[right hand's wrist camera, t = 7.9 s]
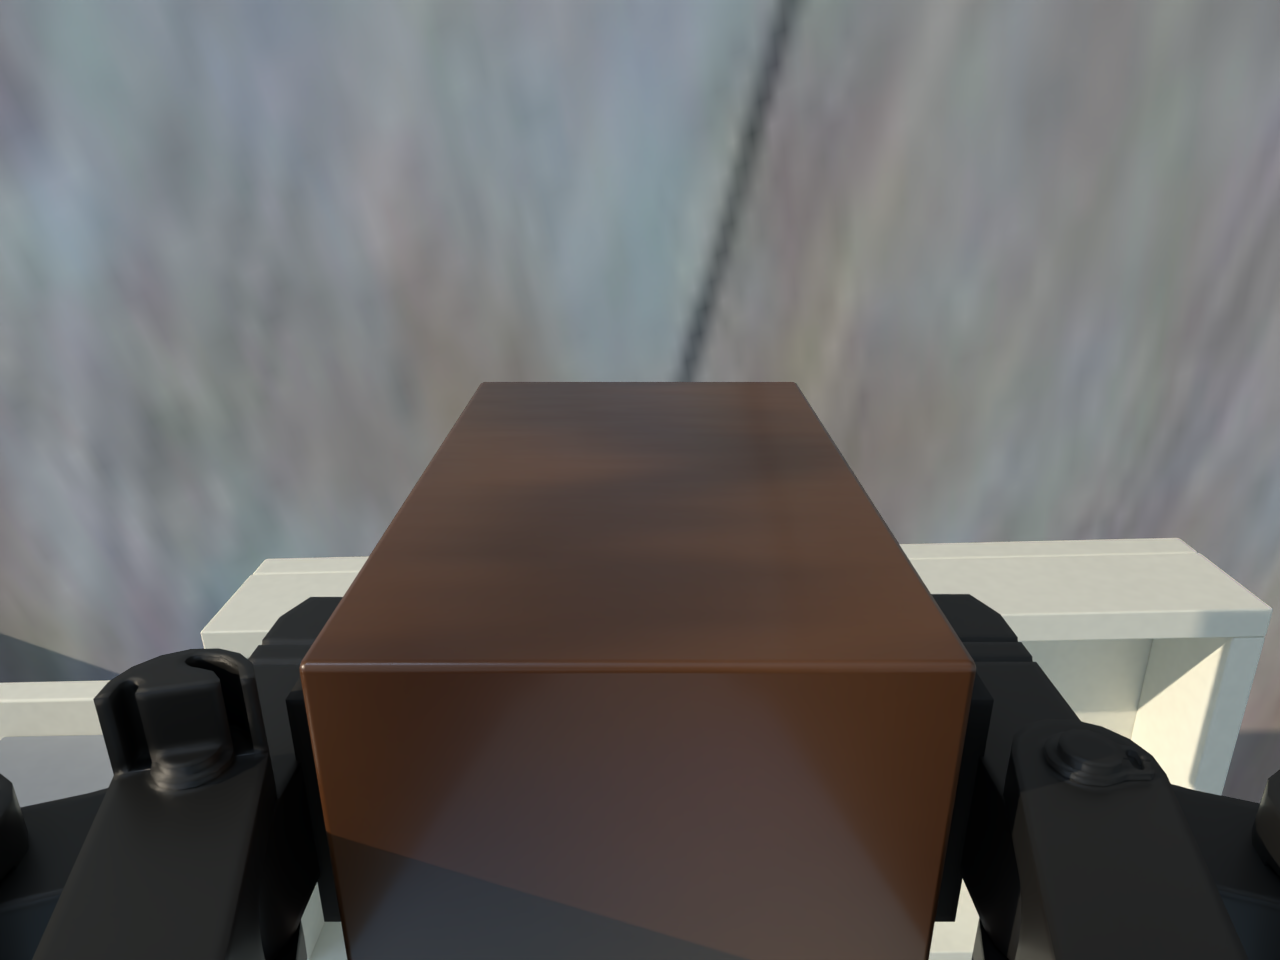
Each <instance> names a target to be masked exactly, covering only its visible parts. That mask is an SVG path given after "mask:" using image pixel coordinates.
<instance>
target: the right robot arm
mask: <svg viewBox="0 0 1280 960" xmlns="http://www.w3.org/2000/svg"><path fill="white" fill-rule="evenodd" d="M931 595H932V596H933V598H934V599H935V601H936V602H937V604H938V606H939V607H940V609H941V610H942V612H943V613H944V615H945V617H946V618H947V620H948V621H949V623H950V624H951V626H952V627H953V629H954V631H955V632H956V634H957V635H958V637H959V638H960V640H961V642H962V643H963V645H964V646H965V648H966V649H967V651H968V652H969V654H970V656H971V657H972V659H973V660H974V662H975V665H976V674H975V680H974V686H973V692H972V699H971V705H970V711H969V717H968V723H967V729H966V735H965V741H964V747H963V753H962V759H961V766H960V772H959V778H958V784H957V790H956V796H955V802H954V808H953V814H952V820H951V826H950V833H949V839H948V845H947V851H946V857H945V863H944V869H943V875H942V881H941V887H940V893H939V900H938V906H937V912H936V918H935V922H955V919H956V913H957V907H958V902H959V896H960V890H961V885H962V879H963V881H964V883H965V885H966V888H967V890H968V892H969V894H970V897H971V899H972V901H973V904H974V906H975V908H976V911H977V913H978V915H979V922H978V927H977V932H976V937H975V943H974V948H973V953H972V959H971V960H1280V770H1279V771H1277V772H1276V773H1275V774H1274V775H1272V776H1271V777H1270V778H1269V779H1268V781H1267V784H1266V787H1265V790H1264V793H1263V796H1262V800H1261V803H1260V804H1259V803H1254V802H1250V801H1245V800H1240V799H1235V798H1230V797H1226V796H1221V795H1216V794H1211V793H1206V792H1202V791H1197V790H1192V789H1188V788H1185V787H1181V786H1177V785H1174V784H1171V783H1170V781H1169V779H1168V777H1167V774H1166V773H1165V772H1164V770H1163V769H1162V768H1161V766H1160V765H1159V764H1158V762H1157V761H1156V760H1155V758H1154V757H1153V756H1152V755H1151V754H1150V753H1148V752H1147V751H1146V750H1144V749H1143V748H1142V747H1140V746H1139V745H1137V744H1136V743H1135V742H1133V741H1132V740H1131V739H1129V738H1127V737H1124V736H1122V735H1120V734H1118V733H1116V732H1113V731H1111V730H1109V729H1107V728H1104V727H1102V726H1098V725H1094V724H1090V723H1086V722H1082V721H1081V720H1080V719H1079V718H1078V716H1077V715H1076V714H1075V712H1074V711H1073V710H1072V708H1071V707H1070V706H1069V704H1068V703H1067V702H1066V701H1065V699H1064V698H1063V697H1062V695H1061V694H1060V693H1059V691H1058V690H1057V689H1056V687H1055V686H1054V685H1053V683H1052V682H1051V681H1050V679H1049V678H1048V677H1047V675H1046V674H1045V673H1044V671H1043V670H1042V669H1041V667H1040V666H1039V665H1038V663H1037V662H1033V660H1032V655H1031V654H1030V653H1029V652H1028V650H1027V649H1026V648H1025V646H1024V645H1023V644H1022V642H1018V637H1017V636H1016V634H1015V633H1014V632H1013V630H1012V629H1011V628H1010V626H1009V625H1008V624H1007V622H1006V621H1005V620H1004V618H1003V617H1002V616H1001V614H999V613H998V612H996V611H995V610H993V609H992V608H990V607H989V606H987V605H985V604H984V603H982V602H981V601H979V600H978V599H976V598H975V597H973V596H972V595H970V594H931ZM342 598H343V597H309V598H308V599H306V600H305V601H303V602H302V603H300V604H299V605H297V606H296V607H294V608H293V609H291V610H290V611H288V612H286V613H285V614H283V615H282V616H280V617H279V618H278V620H277V621H276V622H275V624H274V625H273V626H272V628H271V629H270V630H269V632H268V633H267V634H266V636H265V637H264V638H263V640H262V645H258V646H257V648H256V649H255V650H254V652H253V653H252V654H251V656H250V657H249V658H248V659H247V658H246V657H244V656H243V655H242V654H240V653H237V652H233V651H228V650H224V649H219V648H212V649H189V650H185V651H180V652H175V653H171V654H166V655H161V656H159V657H156V658H154V659H151V660H148V661H146V662H143V663H141V664H138V665H136V666H133V667H131V668H130V669H128V670H126V671H125V672H123V673H122V674H120V675H119V676H117V677H115V678H114V679H112V680H111V681H109V682H108V683H107V684H106V685H105V686H104V687H103V689H102V690H101V691H100V692H99V693H98V694H97V695H96V696H95V698H94V699H93V700H94V704H95V708H96V711H97V715H98V719H99V722H100V726H101V730H102V734H103V737H104V741H105V745H106V748H107V752H108V756H109V759H110V763H111V767H112V770H113V774H114V776H113V778H112V780H111V783H110V785H109V787H108V788H105V789H102V790H98V791H94V792H91V793H87V794H82V795H77V796H73V797H68V798H63V799H58V800H54V801H49V802H44V803H39V804H34V805H30V806H25V807H20V805H19V802H18V799H17V796H16V793H15V790H14V787H13V784H12V782H11V781H9V780H8V779H7V778H6V777H4V776H3V775H2V774H0V960H307V951H306V944H305V937H304V932H303V927H302V922H301V918H302V916H303V914H304V911H305V909H306V907H307V904H308V902H309V900H310V897H311V895H312V893H313V890H314V888H315V886H316V884H317V883H318V888H319V894H320V900H321V905H322V911H323V917H324V922H341V919H340V913H339V907H338V901H337V895H336V889H335V883H334V876H333V870H332V864H331V858H330V852H329V846H328V840H327V834H326V828H325V822H324V816H323V810H322V804H321V798H320V792H319V786H318V780H317V774H316V768H315V762H314V756H313V750H312V743H311V737H310V731H309V725H308V719H307V713H306V707H305V701H304V695H303V689H302V683H301V677H300V670H299V667H300V664H301V661H302V660H303V658H304V656H305V655H306V653H307V652H308V650H309V649H310V647H311V646H312V644H313V643H314V641H315V639H316V638H317V636H318V635H319V633H320V632H321V630H322V629H323V627H324V626H325V624H326V622H327V621H328V619H329V618H330V616H331V615H332V613H333V612H334V610H335V609H336V607H337V605H338V604H339V602H340V601H341V599H342Z"/></svg>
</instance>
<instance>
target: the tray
mask: <svg viewBox="0 0 1280 960" xmlns="http://www.w3.org/2000/svg"><path fill="white" fill-rule="evenodd" d="M899 545H900V546H901V548H902V549H903V551H904V553H905V554H906V556H907V557H908V559H909V560H910V562H911V563H912V565H913V567H914V568H915V570H916V571H917V573H918V574H919V576H920V578H921V579H922V581H923V582H924V584H925V585H926V587H927V588H928V590H929V592H930V593H931V594H970V595H972V596H973V597H975V598H976V599H978V600H979V601H981V602H982V603H984V604H985V605H987V606H989V607H990V608H992V609H993V610H995V611H996V612H998V613H999V614H1001V616H1002V617H1003V618H1004V620H1005V621H1006V622H1007V624H1008V625H1009V626H1010V628H1011V629H1012V630H1013V632H1014V633H1015V634H1016V636H1017V637H1018V642H1022V644H1023V645H1024V646H1025V648H1026V649H1027V650H1028V652H1029V653H1030V654H1031V655H1032V660H1033V662H1037V663H1038V665H1039V666H1040V667H1041V669H1042V670H1043V671H1044V673H1045V674H1046V675H1047V677H1048V678H1049V679H1050V681H1051V682H1052V683H1053V685H1054V686H1055V687H1056V689H1057V690H1058V691H1059V693H1060V694H1061V695H1062V697H1063V698H1064V699H1065V701H1066V702H1067V703H1068V704H1069V706H1070V707H1071V708H1072V710H1073V711H1074V712H1075V714H1076V715H1077V716H1078V718H1079V719H1080V720H1081V721H1082V722H1086V723H1090V724H1094V725H1098V726H1102V727H1104V728H1107V729H1109V730H1111V731H1113V732H1116V733H1118V734H1120V735H1122V736H1124V737H1127V738H1129V739H1131V740H1132V741H1133V742H1135V743H1136V744H1137V745H1139V746H1140V747H1142V748H1143V749H1144V750H1146V751H1147V752H1148V753H1150V754H1151V755H1152V756H1153V757H1154V758H1155V760H1156V761H1157V762H1158V764H1159V765H1160V766H1161V768H1162V769H1163V770H1164V772H1165V773H1166V774H1167V777H1168V779H1169V781H1170V783H1171V784H1174V785H1177V786H1181V787H1185V788H1188V789H1192V790H1197V791H1202V792H1206V793H1211V794H1216V795H1222V791H1223V788H1224V784H1225V781H1226V777H1227V773H1228V770H1229V766H1230V763H1231V759H1232V755H1233V752H1234V748H1235V744H1236V741H1237V737H1238V734H1239V730H1240V726H1241V723H1242V719H1243V716H1244V712H1245V708H1246V705H1247V701H1248V697H1249V694H1250V690H1251V687H1252V683H1253V679H1254V676H1255V672H1256V669H1257V665H1258V661H1259V658H1260V654H1261V650H1262V647H1263V643H1264V640H1265V638H1264V636H1265V635H1266V633H1267V629H1268V626H1269V622H1270V618H1271V615H1272V611H1273V609H1272V608H1271V607H1270V606H1269V605H1267V604H1266V603H1265V602H1263V601H1262V600H1261V599H1259V598H1258V597H1257V596H1256V595H1254V594H1253V593H1252V592H1250V591H1249V590H1248V589H1246V588H1245V587H1244V586H1242V585H1241V584H1240V583H1239V582H1237V581H1236V580H1235V579H1233V578H1232V577H1231V576H1229V575H1228V574H1227V573H1225V572H1224V571H1223V570H1222V569H1220V568H1219V567H1218V566H1216V565H1215V564H1214V563H1212V562H1211V561H1210V560H1208V559H1207V558H1206V557H1205V556H1203V555H1202V554H1200V553H1198V552H1197V551H1196V550H1194V549H1193V548H1192V547H1190V546H1189V545H1188V544H1187V543H1185V542H1184V541H1183V540H1181V539H1180V538H1151V539H1107V540H1064V541H1021V542H977V543H934V544H899ZM368 558H369V557H326V558H282V559H266V560H264V562H263V563H262V564H261V565H260V566H259V567H258V568H257V570H256V571H255V572H254V573H253V575H251V576H250V577H249V578H248V579H247V580H246V581H245V582H244V583H243V585H242V586H241V587H240V588H239V589H238V590H237V591H236V593H235V594H234V595H233V596H232V597H231V598H230V599H229V600H228V602H227V603H226V604H225V605H224V606H223V607H222V608H221V610H220V611H219V612H218V613H217V614H216V615H215V616H214V617H213V619H212V620H211V621H210V622H209V623H208V624H207V625H206V627H205V628H204V629H203V630H202V631H201V637H202V641H203V645H204V649H212V648H219V649H224V650H228V651H233V652H237V653H240V654H242V655H243V656H244V657H246V658H247V659H248V658H249V657H250V656H251V654H252V653H253V652H254V650H255V649H256V648H257V646H258V645H262V640H263V638H264V637H265V636H266V634H267V633H268V632H269V630H270V629H271V628H272V626H273V625H274V624H275V622H276V621H277V620H278V618H279V617H280V616H282V615H283V614H285V613H286V612H288V611H290V610H291V609H293V608H294V607H296V606H297V605H299V604H300V603H302V602H303V601H305V600H306V599H308V598H309V597H343V596H344V595H345V593H346V592H347V590H348V588H349V587H350V585H351V584H352V582H353V581H354V579H355V578H356V576H357V575H358V573H359V571H360V570H361V568H362V567H363V565H364V564H365V562H366V561H367V559H368ZM109 681H111V680H105V681H57V682H10V683H0V774H2V775H3V776H4V777H6V778H7V779H8V780H9V781H11V782H12V784H13V787H14V790H15V793H16V796H17V799H18V802H19V805H20V807H25V806H30V805H34V804H39V803H44V802H49V801H54V800H58V799H63V798H68V797H73V796H77V795H82V794H87V793H91V792H94V791H98V790H102V789H105V788H108V787H109V785H110V783H111V780H112V778H113V776H114V774H113V770H112V767H111V763H110V759H109V756H108V752H107V748H106V745H105V741H104V737H103V734H102V730H101V726H100V722H99V719H98V715H97V711H96V708H95V704H94V700H93V699H94V698H95V696H96V695H97V694H98V693H99V692H100V691H101V690H102V689H103V687H104V686H105V685H106V684H107V683H108V682H109ZM301 922H302V927H303V932H304V937H305V944H306V951H307V960H347V955H346V949H345V943H344V937H343V931H342V925H341V922H324V917H323V911H322V905H321V900H320V894H319V888H318V883H317V884H316V886H315V888H314V890H313V893H312V895H311V897H310V900H309V902H308V904H307V907H306V909H305V911H304V914H303V916H302V918H301ZM978 922H979V915H978V913H977V911H976V908H975V906H974V904H973V901H972V899H971V897H970V894H969V892H968V890H967V888H966V885H965V883H964V881H963V879H962V885H961V890H960V896H959V902H958V907H957V913H956V919H955V922H935V924H934V930H933V936H932V942H931V948H930V954H929V960H971V959H972V953H973V948H974V943H975V937H976V932H977V927H978Z"/></svg>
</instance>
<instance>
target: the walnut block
mask: <svg viewBox="0 0 1280 960" xmlns="http://www.w3.org/2000/svg"><path fill="white" fill-rule="evenodd" d="M299 670H300V677H301V683H302V689H303V695H304V701H305V707H306V713H307V719H308V725H309V731H310V737H311V743H312V750H313V756H314V762H315V768H316V774H317V780H318V786H319V792H320V798H321V804H322V810H323V816H324V822H325V828H326V834H327V840H328V846H329V852H330V858H331V864H332V870H333V876H334V883H335V889H336V895H337V901H338V907H339V913H340V919H341V925H342V931H343V937H344V943H345V949H346V955H347V960H929V954H930V948H931V942H932V936H933V930H934V924H935V918H936V912H937V906H938V900H939V893H940V887H941V881H942V875H943V869H944V863H945V857H946V851H947V845H948V839H949V833H950V826H951V820H952V814H953V808H954V802H955V796H956V790H957V784H958V778H959V772H960V766H961V759H962V753H963V747H964V741H965V735H966V729H967V723H968V717H969V711H970V705H971V699H972V692H973V686H974V680H975V674H976V665H975V662H974V660H973V659H972V657H971V656H970V654H969V652H968V651H967V649H966V648H965V646H964V645H963V643H962V642H961V640H960V638H959V637H958V635H957V634H956V632H955V631H954V629H953V627H952V626H951V624H950V623H949V621H948V620H947V618H946V617H945V615H944V613H943V612H942V610H941V609H940V607H939V606H938V604H937V602H936V601H935V599H934V598H933V596H932V595H931V593H930V592H929V590H928V588H927V587H926V585H925V584H924V582H923V581H922V579H921V578H920V576H919V574H918V573H917V571H916V570H915V568H914V567H913V565H912V563H911V562H910V560H909V559H908V557H907V556H906V554H905V553H904V551H903V549H902V548H901V546H900V545H899V543H898V542H897V540H896V538H895V537H894V535H893V534H892V532H891V531H890V529H889V528H888V526H887V524H886V523H885V521H884V520H883V518H882V517H881V515H880V513H879V512H878V510H877V509H876V507H875V506H874V504H873V503H872V501H871V499H870V498H869V496H868V495H867V493H866V492H865V490H864V488H863V487H862V485H861V484H860V482H859V481H858V479H857V478H856V476H855V474H854V473H853V471H852V470H851V468H850V467H849V465H848V464H847V462H846V460H845V459H844V457H843V456H842V454H841V453H840V451H839V449H838V448H837V446H836V445H835V443H834V442H833V440H832V439H831V437H830V435H829V434H828V432H827V431H826V429H825V428H824V426H823V424H822V423H821V421H820V420H819V418H818V417H817V415H816V414H815V412H814V410H813V409H812V407H811V406H810V404H809V403H808V401H807V399H806V398H805V396H804V395H803V393H802V392H801V390H800V389H799V387H798V385H797V384H796V383H794V382H484V383H481V384H480V386H479V388H478V389H477V391H476V392H475V394H474V395H473V397H472V398H471V400H470V401H469V403H468V405H467V406H466V408H465V409H464V411H463V412H462V414H461V415H460V417H459V418H458V420H457V422H456V423H455V425H454V426H453V428H452V429H451V431H450V432H449V434H448V435H447V437H446V439H445V440H444V442H443V443H442V445H441V446H440V448H439V449H438V451H437V452H436V454H435V456H434V457H433V459H432V460H431V462H430V463H429V465H428V466H427V468H426V469H425V471H424V473H423V474H422V476H421V477H420V479H419V480H418V482H417V483H416V485H415V486H414V488H413V490H412V491H411V493H410V494H409V496H408V497H407V499H406V500H405V502H404V503H403V505H402V507H401V508H400V510H399V511H398V513H397V514H396V516H395V517H394V519H393V520H392V522H391V524H390V525H389V527H388V528H387V530H386V531H385V533H384V534H383V536H382V537H381V539H380V541H379V542H378V544H377V545H376V547H375V548H374V550H373V551H372V553H371V554H370V556H369V558H368V559H367V561H366V562H365V564H364V565H363V567H362V568H361V570H360V571H359V573H358V575H357V576H356V578H355V579H354V581H353V582H352V584H351V585H350V587H349V588H348V590H347V592H346V593H345V595H344V596H343V598H342V599H341V601H340V602H339V604H338V605H337V607H336V609H335V610H334V612H333V613H332V615H331V616H330V618H329V619H328V621H327V622H326V624H325V626H324V627H323V629H322V630H321V632H320V633H319V635H318V636H317V638H316V639H315V641H314V643H313V644H312V646H311V647H310V649H309V650H308V652H307V653H306V655H305V656H304V658H303V660H302V661H301V664H300V667H299Z"/></svg>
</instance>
